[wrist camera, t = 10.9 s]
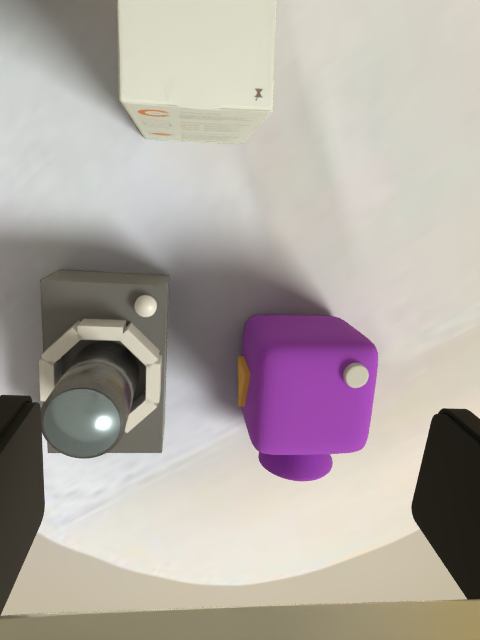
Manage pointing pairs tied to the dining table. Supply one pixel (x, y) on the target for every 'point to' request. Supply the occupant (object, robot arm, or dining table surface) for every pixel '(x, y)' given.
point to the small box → (196, 67)
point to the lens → (91, 401)
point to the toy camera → (305, 391)
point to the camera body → (110, 339)
